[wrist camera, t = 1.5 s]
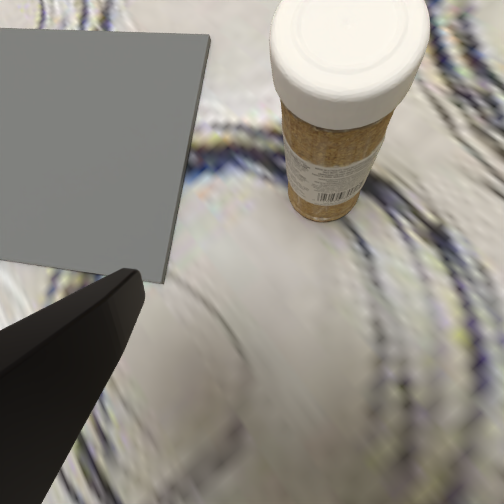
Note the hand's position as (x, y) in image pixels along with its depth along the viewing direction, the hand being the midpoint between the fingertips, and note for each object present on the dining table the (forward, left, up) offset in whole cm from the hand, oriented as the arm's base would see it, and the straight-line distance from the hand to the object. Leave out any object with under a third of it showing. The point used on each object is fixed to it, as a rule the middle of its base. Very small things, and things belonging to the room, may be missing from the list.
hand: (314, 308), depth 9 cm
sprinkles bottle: (+5, +6, -14) cm, 16 cm away
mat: (-8, +19, -13) cm, 25 cm away
